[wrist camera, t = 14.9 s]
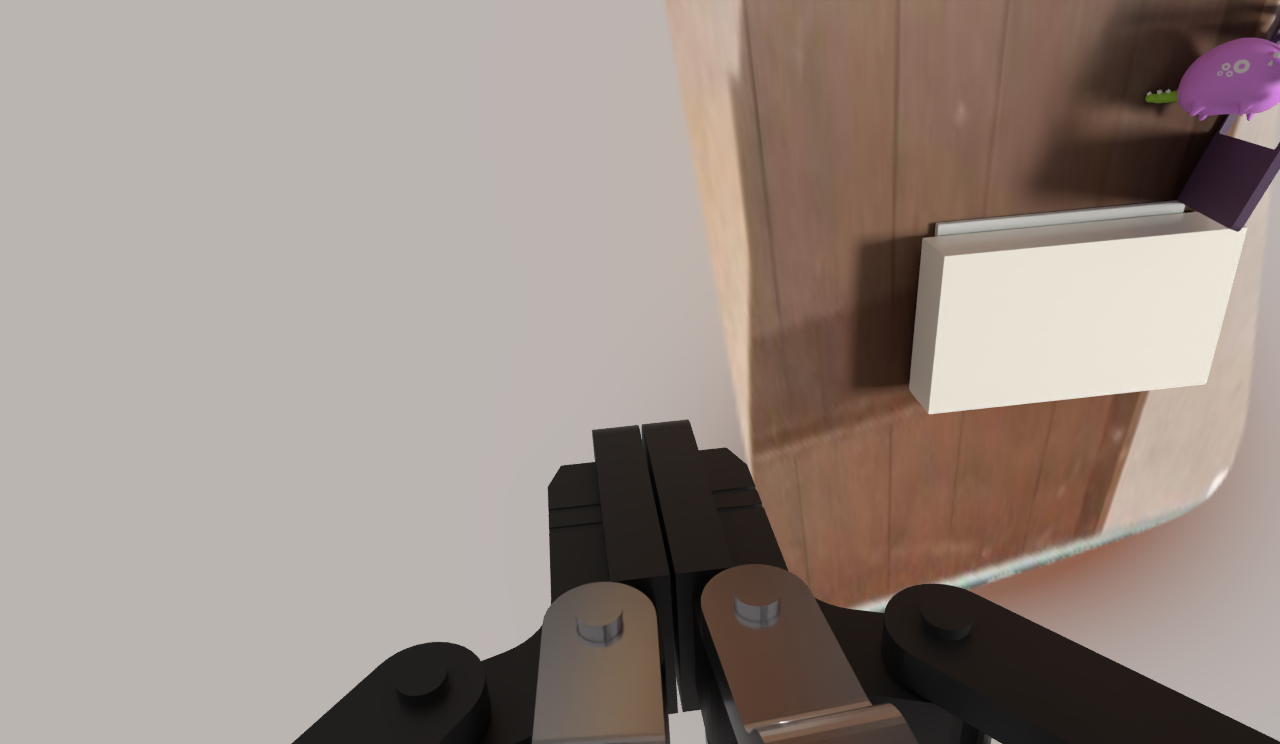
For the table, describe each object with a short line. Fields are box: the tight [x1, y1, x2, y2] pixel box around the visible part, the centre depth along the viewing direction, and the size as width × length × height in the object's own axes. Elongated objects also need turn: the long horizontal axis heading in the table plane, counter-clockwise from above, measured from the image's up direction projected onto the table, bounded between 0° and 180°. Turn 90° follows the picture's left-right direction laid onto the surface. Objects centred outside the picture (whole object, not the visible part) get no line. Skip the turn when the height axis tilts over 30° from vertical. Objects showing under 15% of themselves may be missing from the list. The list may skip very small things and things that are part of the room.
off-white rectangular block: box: [909, 212, 1248, 414], centre depth 43 cm, size 8×3×14 cm
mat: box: [935, 200, 1185, 237], centre depth 44 cm, size 9×12×1 cm
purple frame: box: [1145, 24, 1280, 232], centre depth 38 cm, size 7×5×9 cm
